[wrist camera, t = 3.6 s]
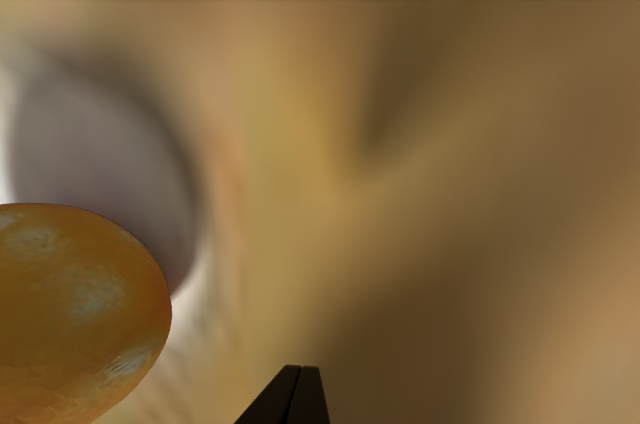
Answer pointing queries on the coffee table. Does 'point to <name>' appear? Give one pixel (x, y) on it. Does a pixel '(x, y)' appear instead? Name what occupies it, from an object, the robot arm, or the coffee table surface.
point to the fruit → (74, 314)
